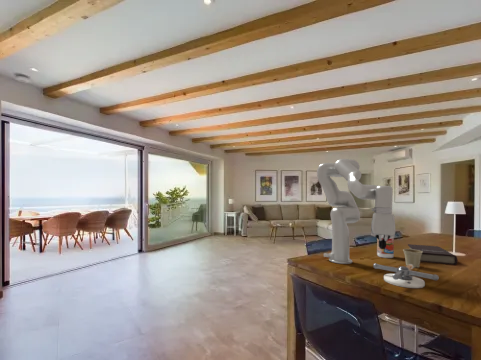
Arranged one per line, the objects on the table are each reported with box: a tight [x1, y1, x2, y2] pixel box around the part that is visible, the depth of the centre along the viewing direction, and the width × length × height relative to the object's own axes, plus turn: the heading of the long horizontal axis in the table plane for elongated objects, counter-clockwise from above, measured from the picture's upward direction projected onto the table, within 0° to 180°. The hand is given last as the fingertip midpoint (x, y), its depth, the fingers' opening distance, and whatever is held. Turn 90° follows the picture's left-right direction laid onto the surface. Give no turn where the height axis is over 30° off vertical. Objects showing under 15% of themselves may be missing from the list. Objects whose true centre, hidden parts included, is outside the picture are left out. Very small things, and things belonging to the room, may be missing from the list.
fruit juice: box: [376, 235, 395, 259], centre depth 180 cm, size 9×9×28 cm
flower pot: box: [402, 248, 423, 269], centre depth 156 cm, size 9×9×9 cm
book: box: [407, 244, 458, 266], centre depth 178 cm, size 28×20×6 cm
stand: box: [383, 273, 426, 289], centre depth 128 cm, size 16×16×2 cm
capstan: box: [372, 263, 440, 281], centre depth 128 cm, size 26×26×5 cm
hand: (382, 248), depth 138 cm, fingers closed
